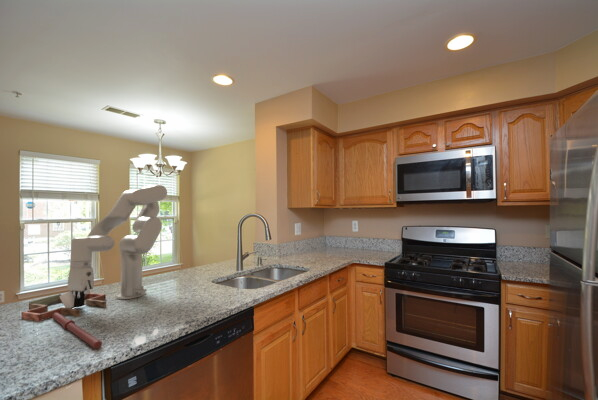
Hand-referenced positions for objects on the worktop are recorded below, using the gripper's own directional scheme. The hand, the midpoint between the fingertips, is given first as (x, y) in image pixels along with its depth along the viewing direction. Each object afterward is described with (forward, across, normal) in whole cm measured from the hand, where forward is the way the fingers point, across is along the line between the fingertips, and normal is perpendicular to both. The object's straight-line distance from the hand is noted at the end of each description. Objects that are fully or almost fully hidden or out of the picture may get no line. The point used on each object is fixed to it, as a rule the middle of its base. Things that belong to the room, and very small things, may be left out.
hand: (79, 306), depth 117 cm
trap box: (+2, +9, -2) cm, 10 cm away
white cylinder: (+1, +4, -1) cm, 4 cm away
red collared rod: (+3, -20, +16) cm, 26 cm away
